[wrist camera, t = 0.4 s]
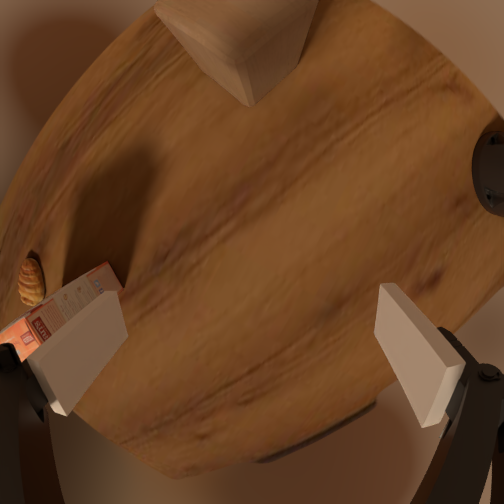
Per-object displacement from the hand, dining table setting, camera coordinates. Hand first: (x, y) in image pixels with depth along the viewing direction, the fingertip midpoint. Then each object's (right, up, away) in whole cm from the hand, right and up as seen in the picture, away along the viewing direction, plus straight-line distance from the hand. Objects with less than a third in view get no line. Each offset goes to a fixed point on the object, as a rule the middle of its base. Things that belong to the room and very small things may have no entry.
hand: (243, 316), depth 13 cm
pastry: (-43, -3, +32) cm, 54 cm away
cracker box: (-28, -3, +31) cm, 42 cm away
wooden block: (0, +29, +21) cm, 35 cm away
